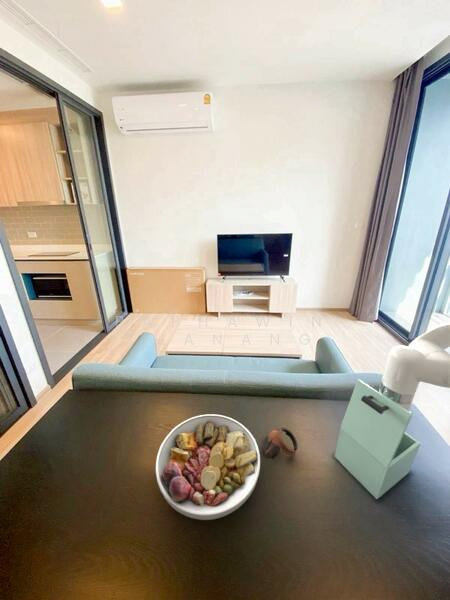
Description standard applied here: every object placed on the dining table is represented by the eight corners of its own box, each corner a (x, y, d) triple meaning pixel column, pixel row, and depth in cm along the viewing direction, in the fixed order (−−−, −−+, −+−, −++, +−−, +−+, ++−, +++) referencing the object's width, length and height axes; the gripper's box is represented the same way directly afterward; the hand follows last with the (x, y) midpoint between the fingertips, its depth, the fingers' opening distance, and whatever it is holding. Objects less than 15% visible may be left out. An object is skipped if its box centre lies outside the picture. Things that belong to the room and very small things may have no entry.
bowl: (203, 411, 93) (202, 395, 90) (276, 455, 77) (278, 436, 74) (135, 478, 70) (131, 459, 67) (219, 560, 54) (219, 539, 51)
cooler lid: (359, 379, 68) (348, 381, 65) (413, 413, 56) (402, 418, 54) (342, 426, 72) (331, 430, 70) (388, 467, 61) (378, 473, 59)
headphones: (268, 433, 85) (283, 419, 81) (289, 458, 80) (305, 445, 77) (251, 451, 75) (266, 437, 72) (273, 481, 71) (290, 467, 67)
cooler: (365, 436, 83) (373, 409, 79) (409, 472, 72) (420, 443, 68) (334, 456, 76) (340, 428, 72) (376, 499, 65) (387, 469, 61)
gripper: (391, 412, 58) (375, 464, 65) (429, 389, 66) (411, 437, 72) (362, 392, 64) (350, 441, 71) (400, 373, 72) (386, 419, 78)
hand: (381, 439), depth 71 cm, fingers closed on cosmetic box, 7 cm apart
